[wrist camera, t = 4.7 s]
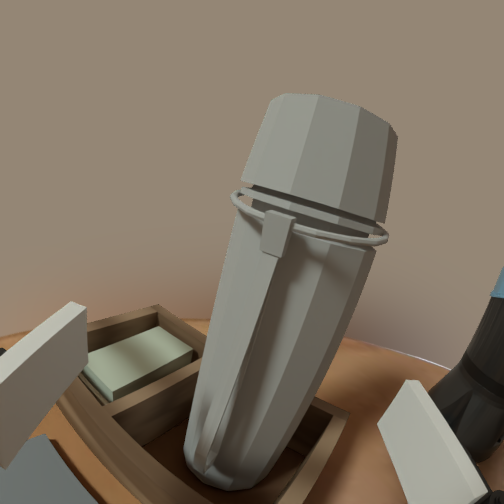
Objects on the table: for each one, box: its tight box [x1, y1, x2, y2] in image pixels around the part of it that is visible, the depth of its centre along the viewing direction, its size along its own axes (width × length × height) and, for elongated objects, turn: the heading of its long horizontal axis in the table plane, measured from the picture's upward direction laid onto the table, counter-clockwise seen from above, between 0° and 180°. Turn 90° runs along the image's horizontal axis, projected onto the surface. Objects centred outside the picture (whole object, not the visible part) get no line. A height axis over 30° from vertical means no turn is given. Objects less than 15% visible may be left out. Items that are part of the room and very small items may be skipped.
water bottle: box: [183, 93, 398, 491], centre depth 15 cm, size 9×8×25 cm
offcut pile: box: [78, 326, 193, 406], centre depth 22 cm, size 10×5×5 cm, turn 151°
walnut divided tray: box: [56, 304, 350, 504], centre depth 19 cm, size 14×22×6 cm, turn 58°
